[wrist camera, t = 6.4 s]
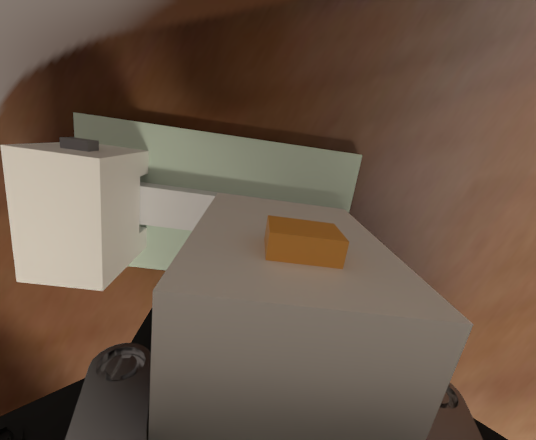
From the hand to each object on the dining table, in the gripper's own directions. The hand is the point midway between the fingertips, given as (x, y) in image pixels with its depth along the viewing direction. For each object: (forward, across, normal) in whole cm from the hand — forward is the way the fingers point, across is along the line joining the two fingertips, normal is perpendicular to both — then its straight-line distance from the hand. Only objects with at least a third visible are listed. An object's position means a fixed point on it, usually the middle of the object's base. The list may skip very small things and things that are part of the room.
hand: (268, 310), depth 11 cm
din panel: (+14, +4, 0) cm, 15 cm away
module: (+1, 0, 0) cm, 1 cm away
